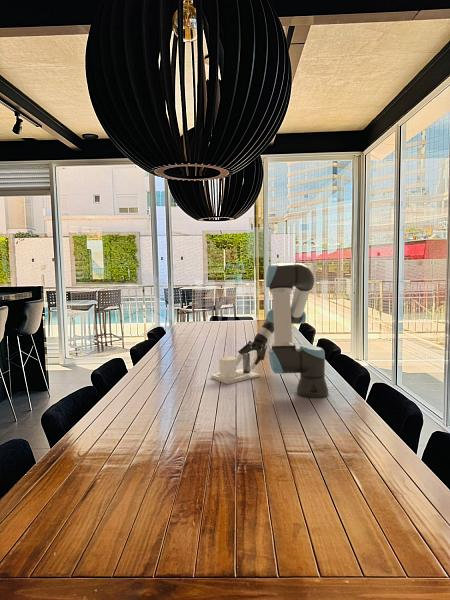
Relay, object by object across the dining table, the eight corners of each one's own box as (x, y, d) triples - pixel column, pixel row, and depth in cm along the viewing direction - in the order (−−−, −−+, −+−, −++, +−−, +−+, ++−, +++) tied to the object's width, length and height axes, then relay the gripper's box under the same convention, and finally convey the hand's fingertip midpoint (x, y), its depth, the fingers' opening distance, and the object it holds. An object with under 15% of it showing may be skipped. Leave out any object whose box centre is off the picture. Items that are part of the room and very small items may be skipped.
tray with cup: (259, 376, 242) (259, 355, 241) (228, 384, 229) (228, 361, 227) (241, 370, 255) (241, 350, 254) (210, 377, 241) (210, 356, 240)
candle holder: (215, 380, 237) (215, 358, 236) (225, 376, 245) (225, 355, 244) (230, 382, 231) (230, 361, 230) (240, 378, 239) (239, 357, 238)
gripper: (281, 343, 245) (261, 374, 237) (252, 338, 264) (233, 366, 257) (274, 335, 241) (254, 366, 233) (245, 330, 261) (226, 358, 253)
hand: (243, 366), depth 245 cm, fingers open, 13 cm apart
